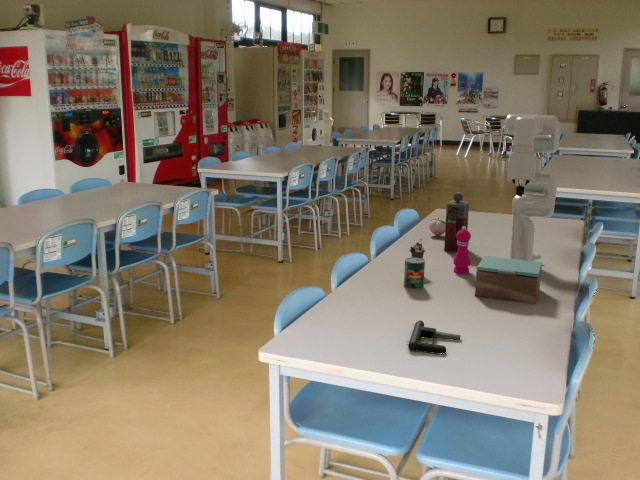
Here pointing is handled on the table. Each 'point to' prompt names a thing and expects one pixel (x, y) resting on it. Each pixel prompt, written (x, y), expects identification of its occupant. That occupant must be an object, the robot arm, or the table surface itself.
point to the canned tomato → (414, 273)
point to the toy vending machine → (455, 221)
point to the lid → (510, 266)
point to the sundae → (417, 250)
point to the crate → (507, 286)
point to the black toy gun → (428, 333)
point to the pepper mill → (462, 252)
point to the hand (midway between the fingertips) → (519, 195)
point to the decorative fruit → (437, 227)
